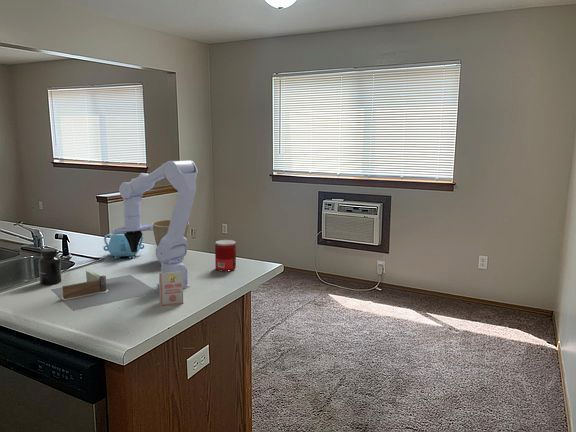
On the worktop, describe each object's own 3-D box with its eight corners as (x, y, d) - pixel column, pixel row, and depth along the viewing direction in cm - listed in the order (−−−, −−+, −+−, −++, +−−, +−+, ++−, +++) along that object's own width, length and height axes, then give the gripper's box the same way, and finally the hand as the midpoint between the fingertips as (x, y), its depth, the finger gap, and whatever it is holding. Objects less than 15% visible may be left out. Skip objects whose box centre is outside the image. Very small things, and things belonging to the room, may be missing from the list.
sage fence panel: (90, 281, 162) (89, 270, 162) (103, 288, 155) (102, 277, 154) (86, 281, 161) (85, 270, 161) (99, 289, 154) (99, 278, 153)
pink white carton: (159, 302, 145) (158, 271, 143) (181, 299, 148) (180, 269, 146) (161, 306, 142) (160, 275, 140) (183, 303, 144) (182, 273, 143)
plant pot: (161, 267, 183) (160, 227, 180) (148, 258, 195) (146, 221, 192) (195, 261, 191) (195, 224, 189) (181, 254, 203) (180, 218, 201)
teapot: (105, 251, 205) (104, 225, 203) (144, 249, 210) (143, 224, 208) (102, 263, 186) (100, 235, 184) (145, 261, 191) (144, 233, 189)
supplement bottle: (37, 286, 157) (35, 252, 155) (42, 280, 163) (40, 247, 161) (59, 285, 159) (57, 251, 157) (63, 279, 165) (61, 247, 163)
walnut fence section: (107, 291, 153) (106, 276, 152) (64, 299, 145) (63, 284, 144) (105, 289, 155) (104, 275, 154) (62, 298, 146) (61, 282, 145)
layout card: (158, 292, 154) (158, 291, 153) (73, 311, 136) (73, 310, 136) (129, 275, 172) (129, 274, 172) (50, 289, 154) (50, 288, 154)
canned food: (238, 270, 180) (238, 243, 178) (217, 272, 177) (217, 244, 175) (233, 265, 187) (233, 239, 185) (213, 267, 184) (213, 240, 182)
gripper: (146, 211, 174) (148, 246, 177) (108, 215, 165) (109, 252, 167) (155, 214, 169) (156, 250, 171) (115, 218, 160) (117, 256, 162)
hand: (133, 251), depth 169 cm, fingers closed
